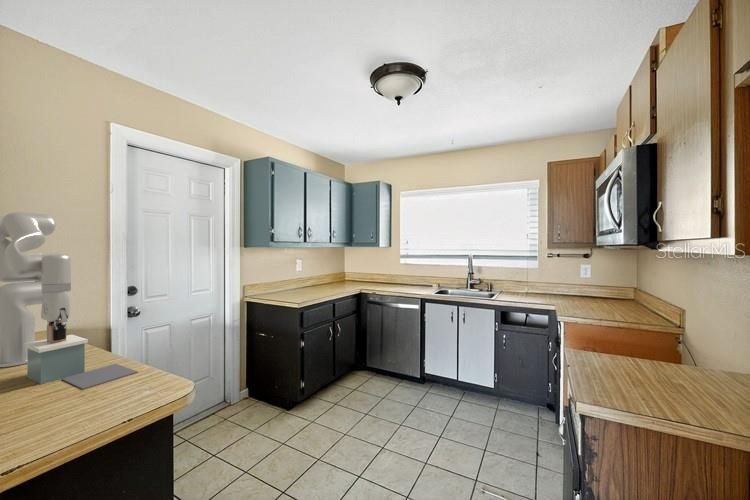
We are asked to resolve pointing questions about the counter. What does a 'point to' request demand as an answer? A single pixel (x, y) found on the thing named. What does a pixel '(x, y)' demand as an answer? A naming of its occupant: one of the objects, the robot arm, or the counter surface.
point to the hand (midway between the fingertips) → (56, 338)
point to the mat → (99, 376)
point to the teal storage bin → (56, 363)
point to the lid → (54, 342)
